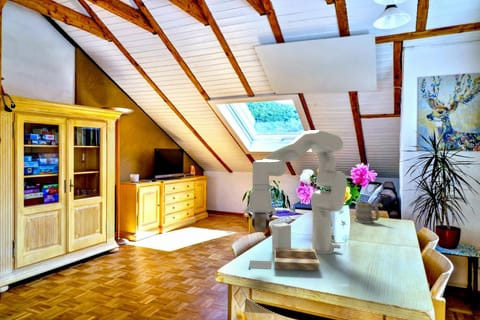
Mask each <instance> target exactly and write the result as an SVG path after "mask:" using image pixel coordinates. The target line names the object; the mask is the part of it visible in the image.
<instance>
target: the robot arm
mask: <svg viewBox="0 0 480 320" xmlns="http://www.w3.org/2000/svg"><path fill="white" fill-rule="evenodd" d="M343 144H344V143H343V139H342V138H341V136H339V135H336V134H333V133H331V132H327V131H324V130H308V131H307V130H306V131H304V132H302V133H300V135H299V136H298V135H297V137H296V138H295V139H293V140H292V141H291V142H290V143H288V144H287V145H285V146H283V147H280V148H278V149H276V150H274V151H272V152H271V153H268V154H267V155H266V156H265V157H264V158H263V159H262V160H254V161H253V162H252V185H251V186H252V190H250V195H249V205H248V206H247V207H246V208H245V210H244V211H243V212H244V213H245V214H246V215H247V216H248V217H249V218H250V219H251V227H253V229H255V213H266V230H267V229H268V227H270V219H271V218H272V217H273V216H274V215H276V214H277V213H278V211H277V210H276V208H275V207H274V206H273V201H272V200H273V199H272V197H273V196H272V191H271V190H270V189H273V185H270V177H281V176H284V174H285V173H286V171H287V165H286V163H288V162H293V161H296V160H299V159H300V158H301V157H303V155H305V154H306V153H307V152H308V151H310V150H311V149H313V151H314V152H315V153H316V155H317V157H318V169H317V175H316V185H317V186H318V187H319V188H322V189H326V190H315V191H314V192H312V194H311V197H310V204H311V211H312V235H311V236H312V238H311V239H312V240H311V242H312V243H311V244H312V245H311V246H309V247H308V249H314V250H315V252H316V254H323V255H326V254H333V253H334V252H335V250H334V249H341V244H337V243H332V215H331V212H335V213H336V212H337V213H338V212H340V211H341V210H342V209H343V208H344V204H345V201H346V192H347V186H348V179H347V176H346V175H345V173H344V172H342V171H338V170H336V165H337V161H336V157H335V155H334V153H335V154H336V153H339V152H340V151H341V150H342V149H343V146H344V145H343ZM327 189H329V190H330V191H327Z"/></svg>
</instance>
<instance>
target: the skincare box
mask: <svg viewBox="0 0 480 320" xmlns="http://www.w3.org/2000/svg"><path fill="white" fill-rule="evenodd" d="M271 240H272V243H271V244H272V245H271V247H272V249H271V250H272V252H273V253H274V248H292V225H291V224H290V223H286V222H282V223H274V224H271Z"/></svg>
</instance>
